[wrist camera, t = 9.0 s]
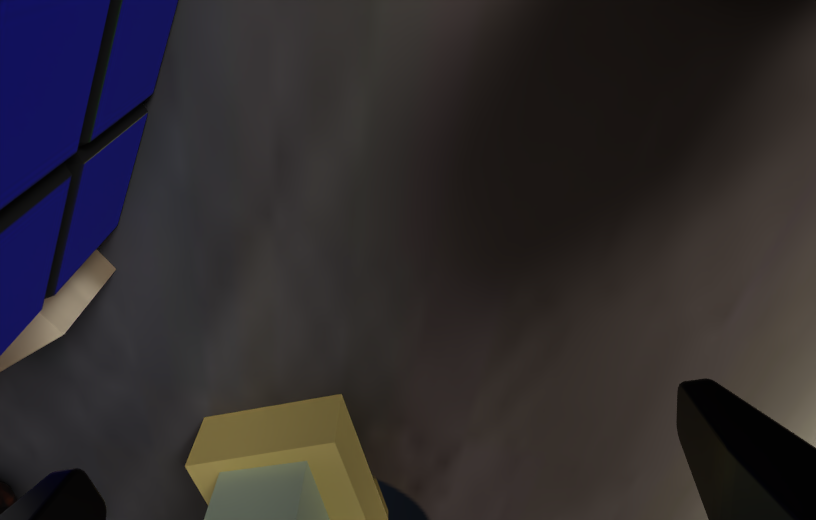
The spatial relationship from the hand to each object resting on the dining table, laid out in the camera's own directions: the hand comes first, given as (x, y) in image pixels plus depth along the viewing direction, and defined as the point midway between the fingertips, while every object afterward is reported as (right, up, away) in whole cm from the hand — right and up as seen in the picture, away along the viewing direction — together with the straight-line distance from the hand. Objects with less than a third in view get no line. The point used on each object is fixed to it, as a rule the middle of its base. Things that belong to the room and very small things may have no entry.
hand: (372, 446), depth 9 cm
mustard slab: (-4, -6, +19) cm, 20 cm away
